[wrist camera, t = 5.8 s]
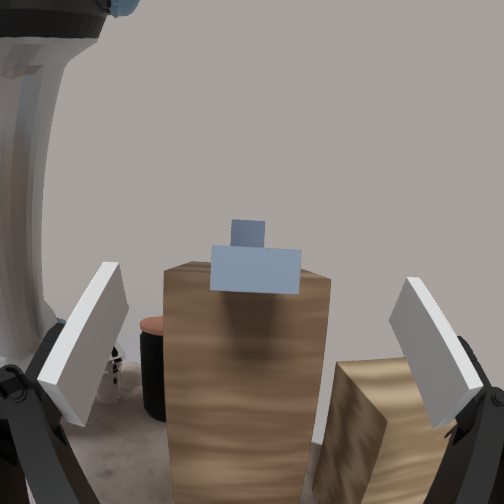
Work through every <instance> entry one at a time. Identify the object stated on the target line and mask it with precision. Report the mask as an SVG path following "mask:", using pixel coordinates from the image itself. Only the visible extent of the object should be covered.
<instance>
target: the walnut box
mask: <svg viewBox="0 0 504 504" xmlns="http://www.w3.org/2000/svg"><path fill="white" fill-rule="evenodd" d="M210 276H211V263H208V262H189V263H186V264H183V265H180V266H177V267H174V268H172V269H169V270H166V271H164V290H163V293H164V294H163V296H164V297H163V356H164V386H165V406H166V421H167V435H168V446H169V457H170V467H171V476H172V484H173V492H174V499H175V504H299V500H300V495H301V491H302V486H303V481H304V477H305V472H306V467H307V462H308V457H309V451H310V446H311V440H312V435H313V429H314V423H315V417H316V411H317V404H318V397H319V390H320V383H321V376H322V368H323V360H324V352H325V351H324V350H325V342H326V334H327V324H328V313H329V301H330V290H331V279H329V278H326V277H323V276H321V275H317V274H315V273H312V272H309V271H306V270H303V269H301V268H300V283H299V294H280V293H256V292H235V291H217V290H210Z"/></svg>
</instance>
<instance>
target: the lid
mask: <svg viewBox="0 0 504 504" xmlns="http://www.w3.org/2000/svg"><path fill="white" fill-rule="evenodd" d="M264 232H265V221H250V220H232V227H231V245H230V246H219V245H212V256H211V276H210V290H217V291H235V292H256V293H280V294H299V283H300V268H301V250H293V249H276V248H264Z"/></svg>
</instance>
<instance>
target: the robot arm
mask: <svg viewBox="0 0 504 504" xmlns="http://www.w3.org/2000/svg"><path fill="white" fill-rule="evenodd" d="M139 1H140V0H0V504H30V503H29V497H28V492H27V486H26V480H27V482H28V485H29V487H30V490H31V492H32V495H33V497H34V499H35V502H36V504H100V502H99V501H98V499H97V497H96V495H95V494H94V492H93V490H92V488H91V486H90V485H89V483H88V481H87V479H86V477H85V475H84V473H83V471H82V469H81V467H80V465H79V463H78V461H77V459H76V457H75V455H74V453H73V451H72V448H71V446H70V444H69V442H68V439H67V437H66V435H65V432H64V430H63V427H62V425H61V424H60V419H61V416H62V415H63V417H64V418H65V419H66V421H67V422H68V423H72V424H75V425H79V426H83V427H85V426H86V423H87V420H88V417H89V414H90V411H91V408H92V405H93V402H94V399H95V396H96V393H97V390H98V387H99V385H100V382H101V379H102V376H103V373H104V371H105V368H106V365H107V363H108V360H109V357H110V355H111V352H112V350H113V347H114V344H115V342H116V339H117V337H118V334H119V332H120V329H121V327H122V325H123V322H124V320H125V317H126V315H127V313H128V305H127V300H126V296H125V291H124V287H123V282H122V277H121V271H120V266H119V263H115V262H103V264H102V265H101V267H100V268H99V270H98V271H97V273H96V274H95V276H94V278H93V279H92V281H91V282H90V284H89V286H88V287H87V289H86V291H85V292H84V294H83V295H82V297H81V299H80V300H79V302H78V304H77V305H76V307H75V309H74V311H73V312H72V314H71V316H70V318H69V319H68V321H67V322H66V321H65V320H63V319H59V318H56V315H55V313H54V312H53V310H52V309H51V307H50V306H49V305H48V304H47V303H46V302H45V301H44V299H43V285H42V264H41V222H42V200H43V186H44V175H45V166H46V158H47V150H48V143H49V136H50V131H51V124H52V119H53V114H54V109H55V104H56V99H57V95H58V91H59V87H60V83H61V79H62V75H63V71H64V68H65V66H66V65H67V63H68V62H69V61H70V60H71V59H72V58H74V57H75V56H77V55H78V54H80V53H81V52H83V51H84V50H85V49H87V48H88V47H90V46H91V45H93V44H95V43H96V42H97V40H98V38H99V35H100V32H101V30H102V27H103V24H104V22H105V19H106V17H107V16H108V15H112V16H114V17H115V18H116V17H118V16H128V15H130V14H131V13H132V12H133V11H134V10H135V8H136V7H137V5H138V3H139ZM389 322H390V324H391V326H392V329H393V331H394V333H395V335H396V337H397V340H398V342H399V344H400V346H401V349H402V351H403V354H404V356H405V358H406V361H407V363H408V365H409V368H410V370H411V373H412V375H413V377H414V380H415V382H416V385H417V387H418V390H419V393H420V395H421V398H422V400H423V403H424V406H425V408H426V411H427V414H428V416H429V419H430V422H431V425H432V428H433V429H436V428H440V427H444V426H447V425H448V424H449V423H450V422H451V421H452V420H453V419H454V418H455V419H456V422H457V424H456V425H455V426H454V427H453V428H452V429H451V430H449V431H448V432H447V433H446V435H445V436H444V438H447V437H448V436H449V435H450V434H451V436H450V438H449V442H448V445H447V448H446V451H445V453H444V456H443V459H442V461H441V464H440V466H439V469H438V471H437V473H436V476H435V478H434V481H433V483H432V485H431V487H430V490H429V492H428V494H427V496H426V498H425V500H424V502H423V504H504V391H503V390H502V389H500V388H498V387H492V386H491V384H490V382H489V380H488V378H487V377H486V375H485V373H484V371H483V369H482V367H481V365H480V364H479V362H478V361H477V358H476V356H475V355H474V354H473V351H472V349H471V348H470V346H469V344H468V343H467V342H466V341H465V340H464V339H463V338H462V337H461V336H456V335H455V333H454V331H453V329H452V328H451V326H450V325H449V323H448V321H447V320H446V318H445V317H444V315H443V313H442V312H441V310H440V309H439V307H438V305H437V304H436V302H435V301H434V299H433V297H432V296H431V294H430V293H429V291H428V290H427V288H426V287H425V285H424V284H423V282H422V281H421V279H420V278H415V277H407V278H406V280H405V282H404V285H403V287H402V290H401V293H400V295H399V298H398V300H397V302H396V305H395V307H394V309H393V312H392V314H391V316H390V319H389ZM25 477H26V480H25Z"/></svg>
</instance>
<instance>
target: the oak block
mask: <svg viewBox="0 0 504 504" xmlns="http://www.w3.org/2000/svg"><path fill="white" fill-rule="evenodd" d="M456 424H457V422H456V419H455V418H454V419H453V420H452V421H451V422H450V423H449V424H448V425H447V426H444V427H440V428H436V429H433V428H432V425H431V422H430V419H429V416H428V414H427V411H426V408H425V406H424V403H423V400H422V398H421V395H420V393H419V390H418V387H417V385H416V382H415V380H414V377H413V375H412V373H411V370H410V368H409V365H408V363H407V361H406V358H405V357H401V358H391V359H377V360H363V361H362V360H361V361H345V362H344V361H341V362H336V367H335V373H334V380H333V387H332V394H331V400H330V406H329V412H328V417H327V423H326V428H325V433H324V439H323V444H322V449H321V453H320V458H319V463H318V467H317V472H316V476H315V480H314V484H313V492H314V495H315V499H316V502H317V504H423V502H424V500H425V498H426V496H427V494H428V492H429V490H430V487H431V485H432V483H433V481H434V478H435V476H436V473H437V471H438V469H439V466H440V464H441V461H442V459H443V456H444V453H445V451H446V448H447V445H448V442H449V438H450V436H451V434H450V435H449V436H448V437H447V438H444V436H445V435H446V433H447V432H448V431H449V430H451V429H452V428H453V427H454V426H455V425H456Z"/></svg>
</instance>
